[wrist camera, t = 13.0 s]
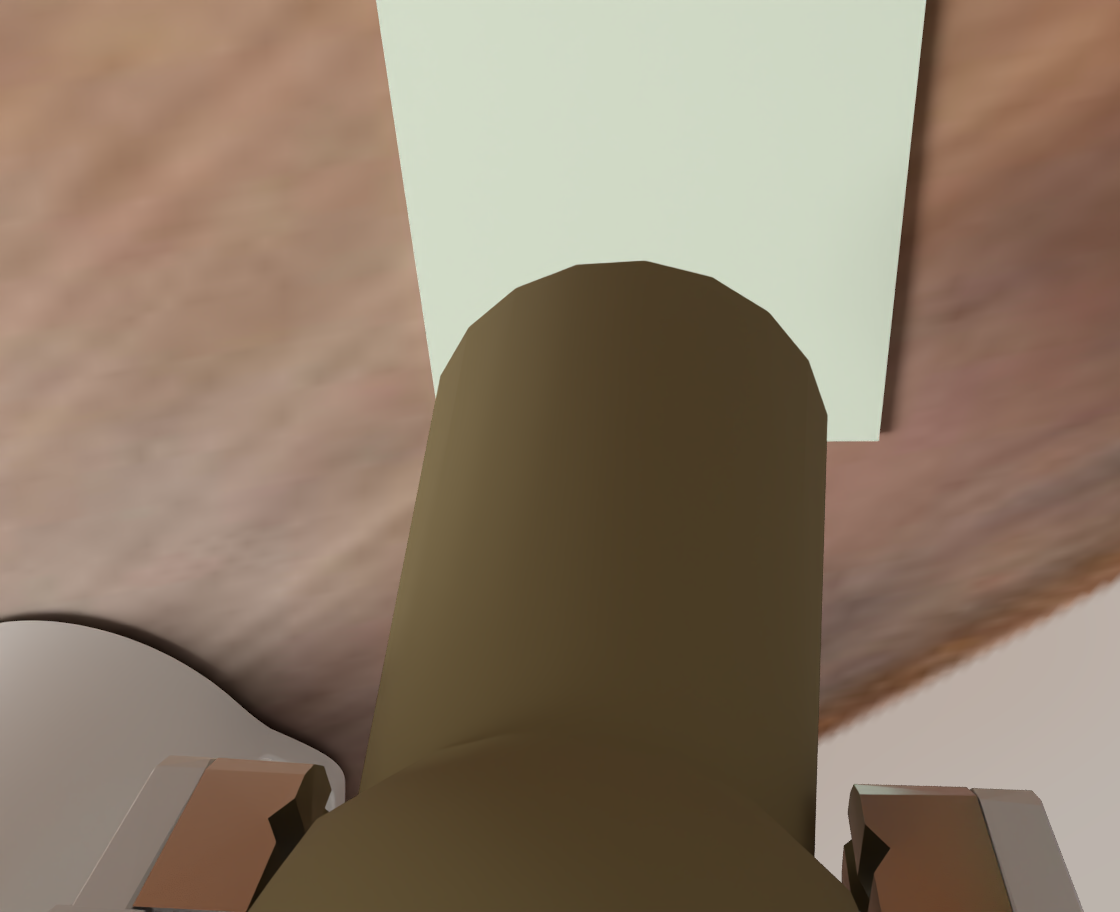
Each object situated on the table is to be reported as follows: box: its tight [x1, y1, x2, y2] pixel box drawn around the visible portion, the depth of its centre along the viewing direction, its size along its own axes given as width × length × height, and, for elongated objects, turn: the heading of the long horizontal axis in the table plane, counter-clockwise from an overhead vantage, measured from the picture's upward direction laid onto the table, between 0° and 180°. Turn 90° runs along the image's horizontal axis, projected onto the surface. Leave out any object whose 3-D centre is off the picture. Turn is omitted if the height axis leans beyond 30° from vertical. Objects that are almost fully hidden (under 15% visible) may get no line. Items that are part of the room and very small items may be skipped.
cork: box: [248, 261, 859, 912], centre depth 10 cm, size 6×6×11 cm
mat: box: [376, 0, 926, 441], centre depth 24 cm, size 12×12×1 cm
